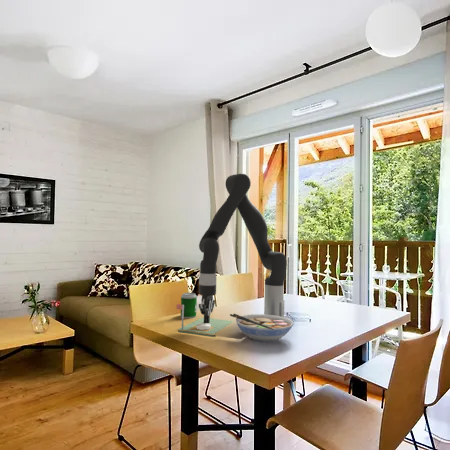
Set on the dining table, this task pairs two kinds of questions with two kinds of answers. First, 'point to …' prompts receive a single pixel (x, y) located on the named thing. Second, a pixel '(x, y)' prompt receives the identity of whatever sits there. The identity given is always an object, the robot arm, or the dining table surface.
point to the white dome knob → (203, 326)
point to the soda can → (189, 305)
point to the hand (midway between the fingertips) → (206, 323)
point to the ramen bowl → (263, 326)
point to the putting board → (215, 323)
